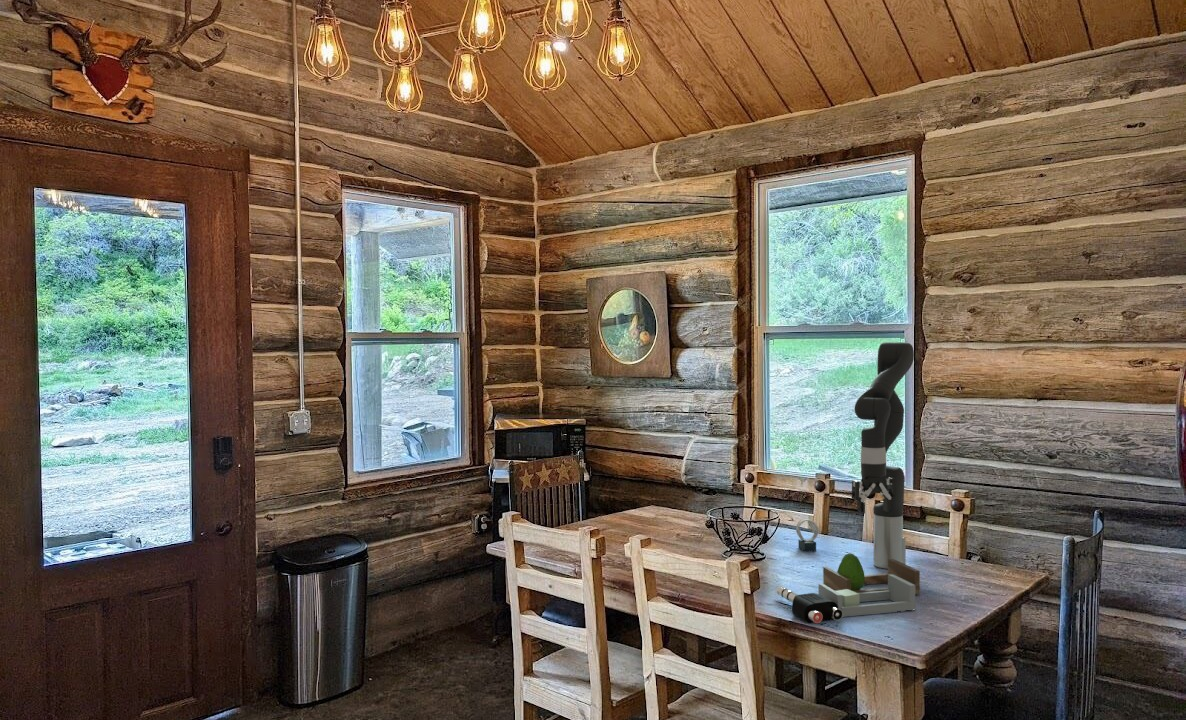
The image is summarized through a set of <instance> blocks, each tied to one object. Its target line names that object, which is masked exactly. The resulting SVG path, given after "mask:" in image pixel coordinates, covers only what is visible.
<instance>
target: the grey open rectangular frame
mask: <svg viewBox="0 0 1186 720" xmlns="http://www.w3.org/2000/svg"><path fill="white" fill-rule="evenodd" d="M887 588H888V590H885V591H873V592H862V593H858V594H859V601H860V603H865V602H876V601H887V600H890V601H892V602H883V603H881V602H880V603H870V604H860V605H857V606H846V607H842V595H841V594H839V593H838V592H836V591H834V590H833V589H831V588H829V587H828V586H826V585H824V584H823V582H822V583H818V594H819V595H821V596H823V597H825V598H827V599H829V600H831V601H833V602H835V603H836V604H837V605H838V609H840V610H841V611H842V613H843V615H842V618H844V617H854V616H855V617H856V616H867V615H868V616H869V615H876V614H887V613H897V611H901V612H905V611H904V610H912V611H914V610H913V609H915V610H916V595H915V585H914V584H912V583H910V582H908V581H906V580H904V579H902V578H900V577H898V576H895V575H893V574H889V575H888V583H887Z"/></svg>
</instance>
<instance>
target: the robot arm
mask: <svg viewBox="0 0 1186 720" xmlns="http://www.w3.org/2000/svg"><path fill="white" fill-rule="evenodd" d="M914 358H915V350H914V347H913V345H912V344H911V343H909V342H905V341H904V342H903V341H902V342H900V341H899V342H898V341H896V342H893V341H885V342H884V341H883V342H881V343H880V344H879V347H878V350H877V362H876V363H877V373H876V374H877V375H876V376H875V377H874V379H873V380H872V382H871V384H870V386H869V388H868V389H867V390H866V391H864V392H863V393H862V394H861V395H860V396H859V397H858V398H857V400H856V402H855V403H854V404H855V405H854V414H855V415H856V417H857V418H859V419H860V420H864V421H865V420H866V421H873V422H874V423H873V426H868V427H867V426H866V427H864V428H863V429H861V434H860V435H861V436H860V439H861V440H860V441H861V449H860V475H861V480H856V479H853V480H852V481H851V499H853V500H855V501H857V511H858V512H859V514H863V515H865V514H866V501H865V500H866V499H867V497H869V496H870V495H874V494H880V495H882V497H883V498H882V502H880V503H875V504H874V505H873V507H872V508H873V509H872V510H873V511H872V512H873V524H872V525H873V526H872V527H873V565H874V566H875V567H877V568H881V569H886V570H888V559H895V560H897V561H899V562H901V563H903V564H906V563H907V561H906V560H907V559H906V550H907V549H906V548H907V547H906V538H905V537H904V531H903V530H904V524H903V523H904V518H903V516H904V513H903V512H904V505H905V504H904V501H905V500H904V498H905V496H904V495H905V484H906V483H905V473H904V470H903V469H902V467H901V468H900V467H898V466H890V465H887V452H888V451H889V449H890V447H891V446H892V444H893V443H894V442H895V441H896V439H897V438H898V437H899V435H900V434H901V432H902V430H903V427H904V416H905V407H904V404H903V402H902V401H901V399H900V397H899V396H898V394H897V392H896V390H895V389H896V387H897V386H898V384H899V383H900V381H901V380H902V379H903V378H904V376H905V375H906V374H907V373H908V372H909V370H910V369H911V367H912V365H913V363H914ZM860 488H861V489H860ZM906 565H907V564H906Z"/></svg>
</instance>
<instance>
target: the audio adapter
mask: <svg viewBox="0 0 1186 720" xmlns="http://www.w3.org/2000/svg"><path fill="white" fill-rule="evenodd" d="M775 591H776V595H778V596H780V597H782V598H783V599H785V600H787V601H789V602H791V604H792V605H791V610H792V611H791V613H792V615H794V616H796V618H797V617H798V618H799V619H801V620H803V621H805V622H807V623H808V624H813V623H814V624H819V623H821V622H822V623H823V622H828V621H833V620H835V621H839V620H841V619H842V618H843V617H842V615H843V613H842V611H841V610H840V609H838V605H837V604H836V603H835V602H833V601H831V600H829V599H827V598H825V597H823V596H821V595H819V593H816V592H811V593H809V592H808V593H801V594H799V593H795V592H794V591H791V590H789V589H787V588H785V587H784V586H783V585H782V586H778V587H777V588H776V590H775Z"/></svg>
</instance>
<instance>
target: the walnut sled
mask: <svg viewBox="0 0 1186 720" xmlns="http://www.w3.org/2000/svg"><path fill="white" fill-rule="evenodd" d="M822 571H823V575H822V579H823V580H822V581H823V582H822V583H823V584H824V585H826V586H828V587H829V588H831V589H833V590H834V591H838V590H844V589H849V590H851V580H850V579H848V578H846V577H844V576H843V575H841V574H839V573H837V571H835V570H834V569H832V568H829V567H828V566H823V568H822ZM889 574H893V575H895V576H898V577H900V578H902V579H904V580H906V581H908V582H910V583H912V584H914V585H915V594H919V595H920V593H921V588H920V587H921V585H920V583H921V580H920V579H921V578H920V577H921V576H920V574H921V572H920V569H916V568H914V567H912V566H910V565H908V564H903V563H901V562H899V561H897V560H895V559H888V569H887V573H877V574H866V575H865V574H864V577H865V580H864V585H872V584H884V583H885V584H888V575H889ZM885 590H888V587H880V588H870V589H869V588H868V589H860V590H854V592H856V593H862V592H873V591H885Z"/></svg>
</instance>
